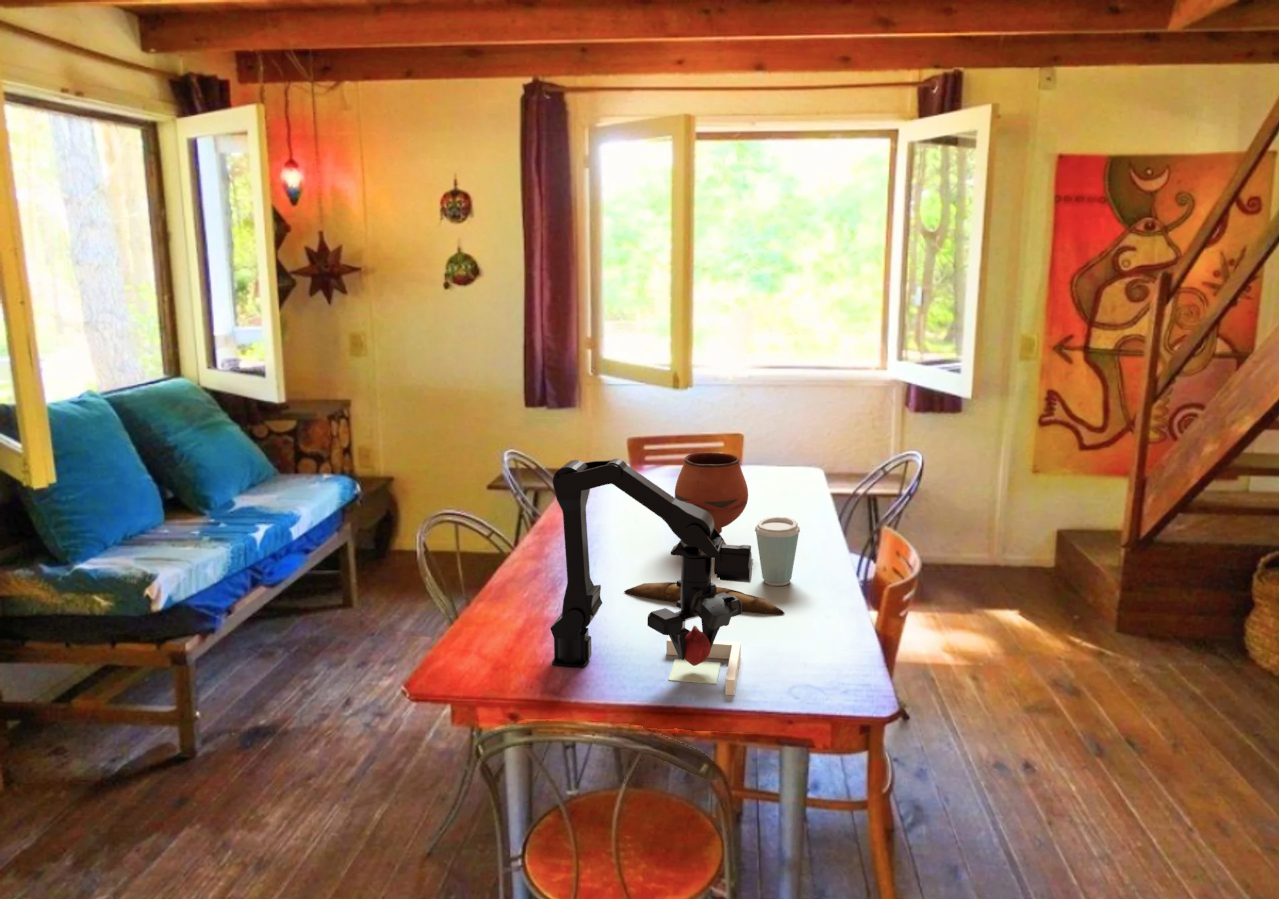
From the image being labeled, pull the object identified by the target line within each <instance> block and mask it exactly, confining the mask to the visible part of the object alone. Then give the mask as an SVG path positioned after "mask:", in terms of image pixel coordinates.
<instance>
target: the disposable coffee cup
mask: <svg viewBox="0 0 1279 899" xmlns="http://www.w3.org/2000/svg"><path fill="white" fill-rule="evenodd" d="M798 524H799V523H798V522H797V520H796V519H794V518H790V517H785V516H772V517H766V518H764V519H761V520H759V521H758V523H757V525H756V526H755V529H754V531H755V534H756V541H757V547H758V548H757V549H758V555H759V561H760V568H761V577H762V579H763V582H764V583H765V584H766V585H769V586H776V587H778V586H779V587H781V586H786V585H789V584H790V582H791V580H792V577H793V572H794V563H795V557H796V551H797V546H798V540H799V534H800V533H801V531H800V529H801V528H800V526H799V525H798Z"/></svg>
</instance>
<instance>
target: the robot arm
mask: <svg viewBox="0 0 1279 899" xmlns="http://www.w3.org/2000/svg"><path fill="white" fill-rule="evenodd" d="M605 485H606V486H607V485H612V486H615V487H616V488H618V489H619V490H620V491H622V492H624V493H625V494H626V495H628V496H629V497H631V498H632V499H634V500H635V501H636V502H637V503H639V504H640V505H642V506H644V507H645V508H646V509H648V510H649V511H651V512H652V513H654V514H655V515H657V516H658V517H659V518H661V520H663V521H664V522H665V523H666V525H667V526H668V527H669V528H670V530H671V531H672V533H673V534H674V535H675V536H676V537H677V538H678V539H680V540H679V541H678V543H677V544H675V545H674V546H672V547H673V548H672V549H671V551H670V555H671V556H677V557H681V558H680V559H681V560H680V562H681V563H680V566H681V567H680V579H678V580H677V581H676V583H677V586H678V587H680V588H681V600H679V601H676V602H675V604H676V607H677V608H679V609H680V611H677V612H676V611H675V612H674V611H672V610H670V609H668V608H666V607H664V608H661V609H660V608H659V609H657V610H652V611H651V612H649V613H648V615H647V627H649V628H650V629H652V630H654V631H656V632H658V633H659V634H661V635H663V636H668V637H670V638H671V641H672V643H673V645H674V647H675V649H676V652H677V654H678V655H677V656H678V659H681V660H685V659H684V658H685V643H686V635H687V634H688V633H689V632H690V631H691V630H689V629H687V628H686V622H687V621H690V620H693V619H697V618H700V620H701V632H703V633H704V634H705V635H706V636H707V638H708V640H709V642H710V645H711V648H712V645H713V642H714V641H716V640H715V639H716V637H717V634H718V632H719V630H720V628H721V627H724V626H725V627H727V626H729V624H730V621H731V618H734V617H737V616H739V615H742V613H743V611H742V604H741V602H740V600H739V599H737V598H736V597H735V596H734V595H733V596H731V595H729V594H727V593H724V592H723V593H720V594H717V588H716V587H717V584H715V583H713V582H712V576H713V574H712V571H713V573H714V575H716V579H719V581H724V582H725V581H726V582H738V583H747V584H748V583H749V584H750V583H751V582H752V577H753V576H752V574H753V564H754V562H753V560H754V559H753V557H752V546H751V545H749V544H742V545H735V544H726V545H724V542H725V539H724V538H723V537H722V535H721V533H720V534H719V532H718V531H717V530H716V528H715V527H714V520H713V517H712V515H711V514H710V513H709V512H707V511H706V510H703V509H701V508H699V507H697V506H695V505H693V504H690V503H686V502H683V501H680V500H678V499H676V498H675V496H672V495H671V494H669V493H668V492H666V491H665V490H664V489H662V488H661V487H660V486H658V485H657V484H655V483H653V481H651V480H650V479H648V478H646V477H645V476H644V475H642V474H641V473H639V472H638V471H637V470H635V469H634V468H632V467H631V466H629V465H628V464H627V463H626V462H625V460H623V459H621V458H613V459H608V460H593V461H588V462H584V461H582V460H578V459H573V460H572V459H571V460H570V461H568V462H566V463H565V464H564V465H563V466H561V467H560V468H559V469H557V471H556V472H555V473H554V474H553V476H552V487H553V490H554V494H555V498H556V501H557V503H558V505H559V507H560V510H561V511H562V520H563V535H564V549H565V550H564V551H565V562H566V563H565V565H566V580H567V583H566V588H565V592H564V595H563V596H564V597H563V602H562V608H561V609H562V610H561V614H560V615H559V616H558V617H557V619H556V620H555V621H554V623H553V624H552V625H551V626H550V631H551V635H552V637H553V651H554V653H553V657H554V658H553V659H552V661H551V665H552V666H560V667H561V666H562V667H574V668H584V667H586V664H587V663H588V662H589V661H590V658H591V657H592V636H591V635H589V628H588V626H589V625H591V623H592V621H593V620H594V618H595V616H596V615H597V614H598V612H599V609H600V607H601V606H602V604H603V601H602V599H601V590H602V586H601V584H596V585H594V582H593V581H592V579H591V574H590V572H591V571H590V558H589V541H588V538H589V536H588V524H587V504H588V500H589V496H590V490H591V489H595V488H598V487H602V486H603V487H604V486H605ZM713 559H714V562H713ZM712 567H713V570H712Z"/></svg>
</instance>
